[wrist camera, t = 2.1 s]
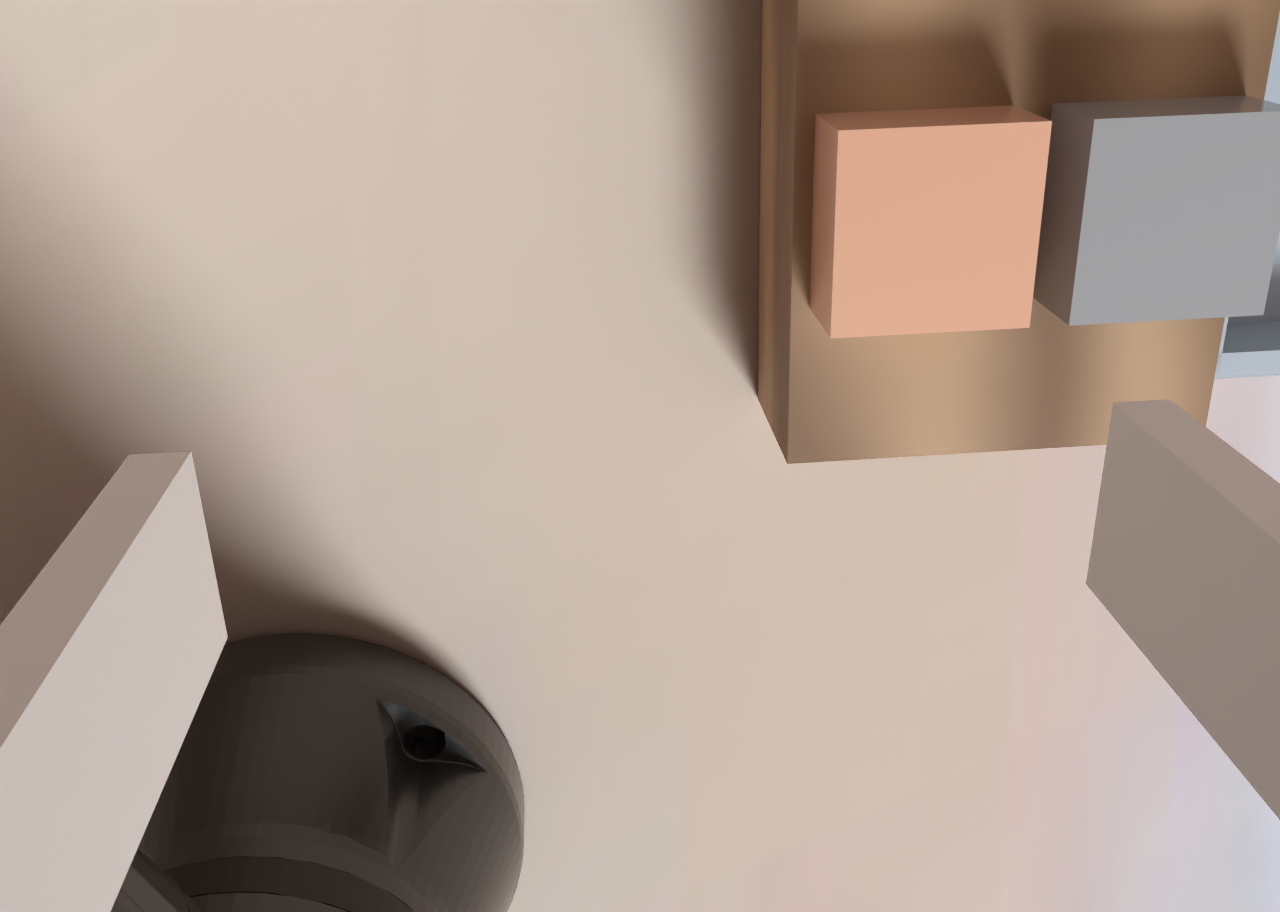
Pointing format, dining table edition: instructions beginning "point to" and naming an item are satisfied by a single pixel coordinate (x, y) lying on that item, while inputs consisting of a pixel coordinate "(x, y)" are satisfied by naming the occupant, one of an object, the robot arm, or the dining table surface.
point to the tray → (1275, 335)
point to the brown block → (1050, 349)
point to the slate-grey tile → (1159, 209)
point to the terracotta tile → (926, 219)
